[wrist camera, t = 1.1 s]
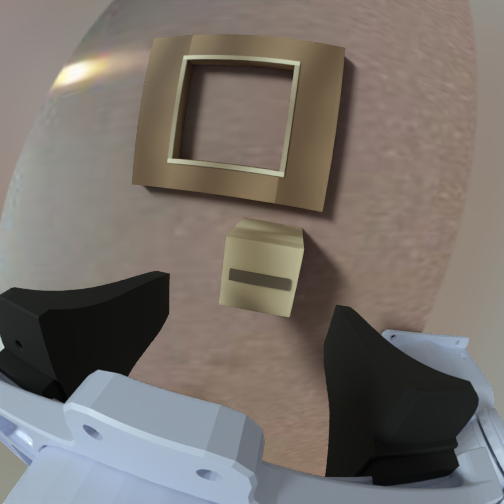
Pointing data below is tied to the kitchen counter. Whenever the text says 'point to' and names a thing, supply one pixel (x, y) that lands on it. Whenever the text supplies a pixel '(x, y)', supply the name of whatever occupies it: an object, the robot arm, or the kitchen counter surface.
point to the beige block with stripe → (261, 266)
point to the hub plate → (297, 129)
